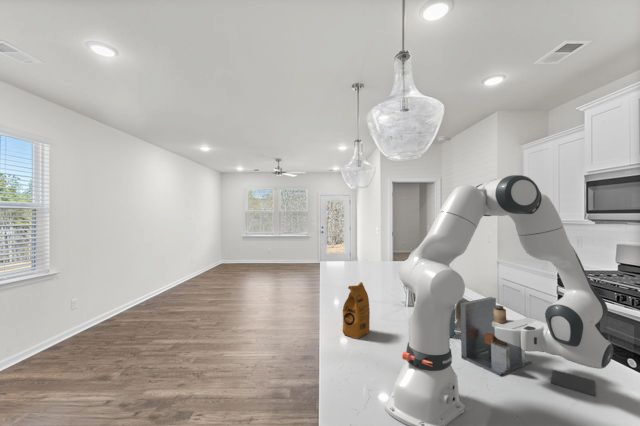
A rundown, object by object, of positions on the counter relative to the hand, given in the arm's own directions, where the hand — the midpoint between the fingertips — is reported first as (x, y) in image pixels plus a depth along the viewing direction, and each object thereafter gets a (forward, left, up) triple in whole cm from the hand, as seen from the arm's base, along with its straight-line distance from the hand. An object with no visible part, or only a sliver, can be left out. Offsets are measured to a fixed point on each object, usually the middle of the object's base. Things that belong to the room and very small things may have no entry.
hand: (497, 322), depth 103 cm
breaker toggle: (+1, +2, -13) cm, 13 cm away
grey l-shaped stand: (0, +1, -14) cm, 14 cm away
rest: (0, -20, -14) cm, 24 cm away
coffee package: (-13, +53, -14) cm, 56 cm away
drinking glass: (+13, +24, -14) cm, 31 cm away
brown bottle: (0, -1, -8) cm, 8 cm away
